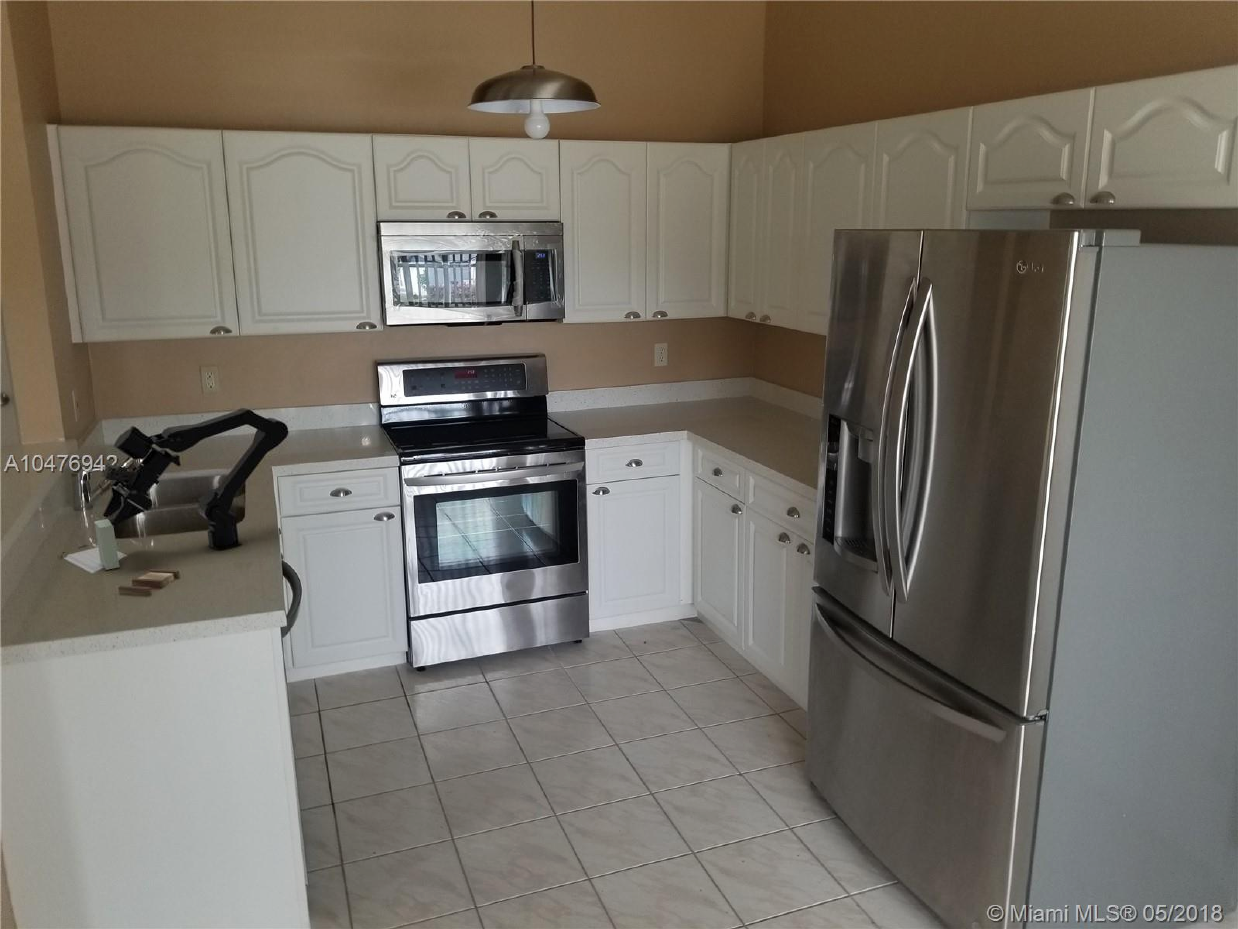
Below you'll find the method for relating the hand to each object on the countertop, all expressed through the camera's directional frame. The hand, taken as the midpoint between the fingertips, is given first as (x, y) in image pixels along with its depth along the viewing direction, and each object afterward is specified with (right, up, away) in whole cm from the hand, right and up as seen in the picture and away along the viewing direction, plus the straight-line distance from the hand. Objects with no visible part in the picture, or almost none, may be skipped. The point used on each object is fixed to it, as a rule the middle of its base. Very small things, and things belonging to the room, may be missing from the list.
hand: (108, 520), depth 230 cm
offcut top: (+16, -13, -8) cm, 22 cm away
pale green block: (-1, -11, +3) cm, 12 cm away
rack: (+16, -16, -10) cm, 24 cm away
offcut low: (+16, -14, -8) cm, 23 cm away
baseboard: (-3, -13, +6) cm, 14 cm away
